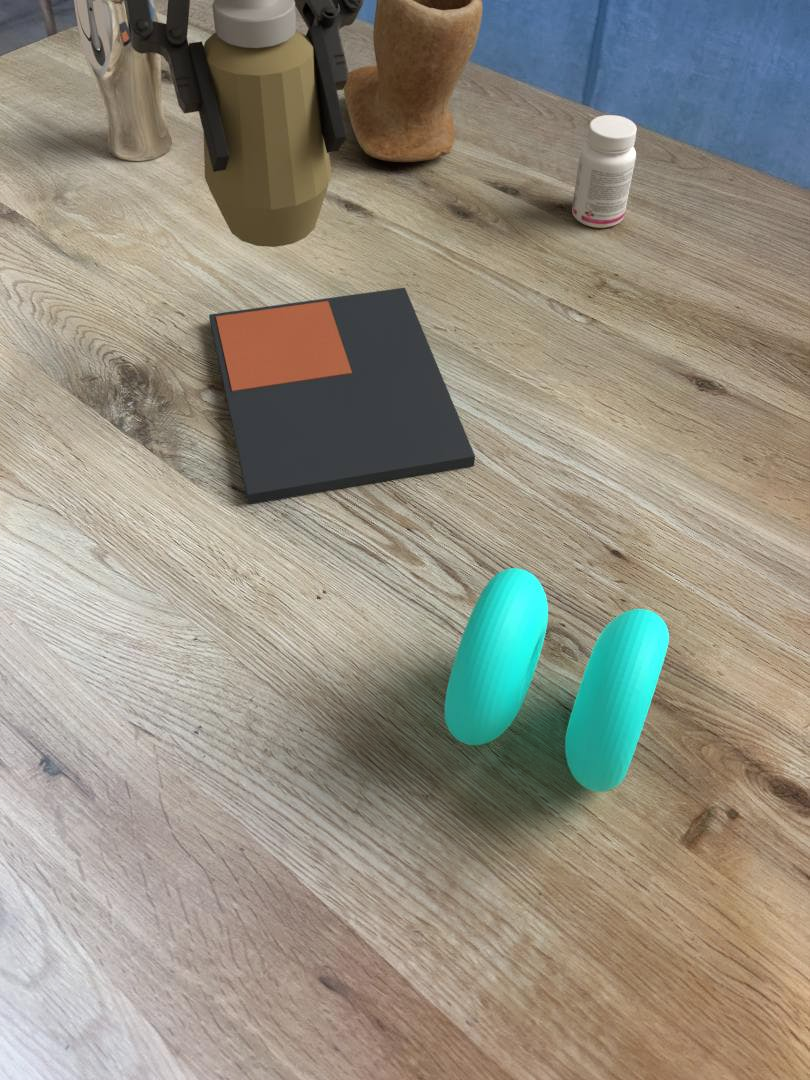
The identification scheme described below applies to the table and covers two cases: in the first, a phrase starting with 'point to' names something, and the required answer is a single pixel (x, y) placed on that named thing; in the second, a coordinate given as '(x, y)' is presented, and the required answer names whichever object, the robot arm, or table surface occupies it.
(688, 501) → the table surface
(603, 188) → the pill bottle
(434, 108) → the stone cup
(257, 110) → the squeeze bottle
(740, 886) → the table surface
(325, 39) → the robot arm
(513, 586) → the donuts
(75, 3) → the chrome sculpted vase
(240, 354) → the mat
